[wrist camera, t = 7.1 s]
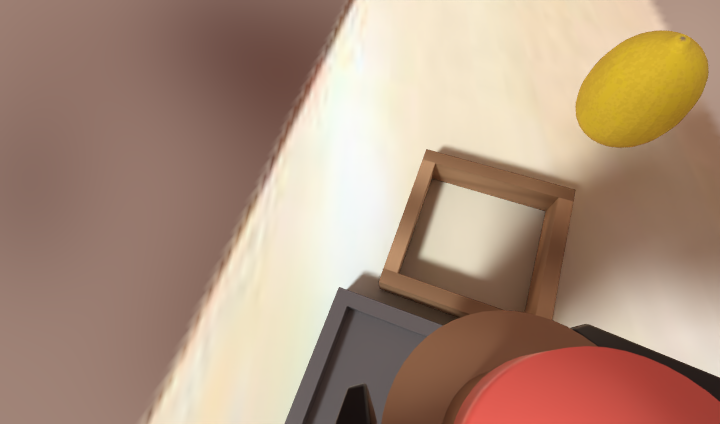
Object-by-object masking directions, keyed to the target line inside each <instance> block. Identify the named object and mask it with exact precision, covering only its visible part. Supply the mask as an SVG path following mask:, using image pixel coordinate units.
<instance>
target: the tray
mask: <svg viewBox="0 0 720 424" xmlns="http://www.w3.org/2000/svg"><path fill="white" fill-rule="evenodd" d="M442 326H443V325H441V324H438V323H435V322H432V321H430V320H427V319H424V318H422V317H419V316H416V315H413V314H411V313H408V312H405V311H403V310H400V309H397V308H395V307H392V306H389V305H386V304H384V303H381V302H378V301H376V300H373V299H370V298H368V297H365V296H362V295H359V294H357V293H354V292H351V291H349V290H346V289H343V288H341V287H339V288H338V291H337V293H336V296H335V298H334V301H333V303H332V306H331V309H330V311H329V314H328V316H327V319H326V321H325V324H324V326H323V329H322V331H321V334H320V336H319V339H318V341H317V344H316V346H315V349H314V351H313V354H312V356H311V359H310V361H309V364H308V366H307V369H306V371H305V374H304V376H303V379H302V381H301V384H300V386H299V389H298V391H297V394H296V396H295V399H294V401H293V404H292V406H291V409H290V411H289V414H288V416H287V419H286V421H285V424H335V422H336V419H337V416H338V414H339V411H340V408H341V405H342V403H343V400H344V397H345V394H346V391H347V389H348V388H349V387H350V386H353V385H357V384H361V383H365V384H366V385H367V387H368V390H369V394H370V397H371V400H372V404H373V407H374V411H375V415H376V419H377V424H381V422H382V416H383V411H384V407H385V404H386V400H387V396H388V393H389V391H390V388H391V386H392V384H393V381H394V379H395V377H396V375H397V373H398V372H399V370H400V368H401V366H402V365H403V363H404V362H405V360H406V359H407V358H408V356H409V355H410V354H411V352H412V351H413V350H414V349H415V348H416V347H417V346H418V345H419V344H420V343H421V342H422V341H423V340H424V339H425V338H426V337H427V336H429V335H430V334H431V333H433V332H434V331H435V330H437V329H438V328H440V327H442Z"/></svg>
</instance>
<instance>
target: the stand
mask: <svg viewBox="0 0 720 424" xmlns="http://www.w3.org/2000/svg"><path fill="white" fill-rule="evenodd" d="M431 179H436V180H439V181H443V182H446V183H450V184H453V185H457V186H460V187H464V188H467V189H471V190H474V191H478V192H481V193H485V194H488V195H492V196H495V197H498V198H502V199H505V200H509V201H512V202H516V203H519V204H523V205H526V206H530V207H533V208H537V209H540V210H544V211H546V212H545V217H544V222H543V226H542V231H541V236H540V241H539V246H538V250H537V255H536V260H535V265H534V270H533V274H532V279H531V284H530V289H529V294H528V298H527V303H526V308H525V313H529V314H534V315H537V316H541V317H544V318H547V319H550V320H552V317H553V312H554V306H555V300H556V295H557V289H558V284H559V278H560V273H561V267H562V262H563V256H564V251H565V245H566V240H567V234H568V228H569V223H570V217H571V212H572V206H573V201H574V195H575V189H571V188H567V187H563V186H560V185H556V184H552V183H549V182H545V181H541V180H538V179H534V178H530V177H527V176H523V175H519V174H516V173H512V172H508V171H505V170H501V169H497V168H494V167H490V166H486V165H483V164H479V163H475V162H472V161H468V160H464V159H461V158H457V157H453V156H450V155H446V154H442V153H439V152H435V151H431V150H427V149H426V152H425V155H424V158H423V160H422V163H421V166H420V169H419V171H418V174H417V177H416V180H415V182H414V185H413V188H412V191H411V194H410V196H409V199H408V202H407V205H406V207H405V210H404V213H403V216H402V219H401V221H400V224H399V227H398V230H397V232H396V235H395V238H394V241H393V243H392V246H391V249H390V252H389V255H388V257H387V260H386V263H385V266H384V268H383V271H382V274H381V277H380V280H379V287H380V289H381V290H384V291H387V292H390V293H392V294H395V295H398V296H401V297H404V298H406V299H409V300H412V301H415V302H417V303H420V304H423V305H426V306H428V307H431V308H434V309H437V310H439V311H442V312H445V313H448V314H450V315H453V316H456V317H459V318H461V317H464V316H466V315H470V314H475V313H479V312H485V311H497V310H502V309H499V308H496V307H493V306H491V305H488V304H485V303H482V302H479V301H476V300H473V299H471V298H468V297H465V296H462V295H459V294H456V293H453V292H450V291H448V290H445V289H442V288H439V287H436V286H433V285H430V284H428V283H425V282H422V281H419V280H416V279H413V278H410V277H407V276H405V275H402V274H399V273H400V270H401V267H402V264H403V261H404V258H405V255H406V252H407V249H408V246H409V244H410V241H411V238H412V235H413V232H414V229H415V226H416V223H417V220H418V217H419V214H420V212H421V209H422V206H423V203H424V200H425V197H426V194H427V191H428V188H429V185H430V182H431ZM503 311H505V310H503Z"/></svg>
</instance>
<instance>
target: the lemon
mask: <svg viewBox="0 0 720 424" xmlns="http://www.w3.org/2000/svg"><path fill="white" fill-rule="evenodd" d="M707 78H708V61H707V58H706V56H705V53H704V51H703V49H702V48H701V47H700V46H699V44H698V43H697V42H695V41H694V40H693V39H692V38H690V37H688V36H686V35H684V34H681V33H678V32H672V31H652V32H646V33H642V34H639V35H636V36H634V37H631V38H629V39H627V40H625V41H623V42H622V43H620V44H619V45H617V46H616V47H615V48H613V49H612V50H611V51H609V52H608V53H607V54H606V55H605V56H603V57H602V58H601V59H600V60H599V61H598V62H597V64H596V65H595V66H594V67H593V69H592V70H591V71H590V73H589V74H588V75H587V77H586V78H585V80H584V81H583V83H582V85H581V87H580V90H579V93H578V97H577V101H576V117H577V120H578V123H579V125H580V127H581V129H582V130H583V131H584V133H585V134H586V135H587V136H588V137H590V138H591V139H592V140H594V141H596V142H597V143H600V144H603V145H606V146H610V147H618V148H621V147H634V146H637V145H641V144H644V143H648V142H650V141H652V140H654V139H656V138H658V137H659V136H661V135H663V134H664V133H666V132H668V131H669V130H671V129H672V128H673V127H675V126H676V125H677V124H678V123H679V122H680V121H681V120H682V119H683V118H684V117H685V116H686V115H687V113H688V112H689V111H690V110H691V109H692V108H693V106H694V105H695V104H696V102H697V101H698V99H699V98H700V96H701V94H702V92H703V90H704V87H705V84H706V81H707Z"/></svg>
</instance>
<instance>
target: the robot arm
mask: <svg viewBox="0 0 720 424" xmlns="http://www.w3.org/2000/svg"><path fill="white" fill-rule="evenodd" d="M570 329H572V330H574V331H575V332H577V333H579V334H581V335H582V336H584V337H585V338H587V339H588V340H590V341H591V342H592V343H594V344H595V345H597V346H598V347H607V348H612V349H618V350H623V351H627V352H631V353H634V354H637V355H640V356H644V357H647V358H649V359H651V360H654V361H656V362H658V363H661V364H663V365H665V366H667V367H669V368H671V369H673V370H675V371H676V372H678V373H680V374H682V375H684V376H685V377H687V378H689V379H690V380H692V381H693V382H694V383H696V384H697V385H699V386H700V387H702V388H703V389H705V390H706V391H707V392H709V393H710V394H711V395H712V396H713V397H715V398H716V399H717V400H718V401H719V402H720V378H719V377H717V376H714V375H712V374H710V373H707V372H705V371H702V370H700V369H697V368H695V367H692V366H690V365H687V364H685V363H683V362H680V361H678V360H675V359H673V358H670V357H668V356H665V355H663V354H660V353H658V352H655V351H653V350H651V349H648V348H646V347H643V346H641V345H638V344H636V343H633V342H631V341H628V340H626V339H624V338H621V337H619V336H616V335H614V334H611V333H609V332H606V331H604V330H601V329H599V328H597V327H594V326H592V325H588V324H584V325H580V326H576V327H572V328H570ZM335 424H377V419H376V415H375V411H374V407H373V404H372V400H371V397H370V394H369V390H368V387H367V385H366V384H365V383H361V384H357V385H353V386H350V387H349V388H348V389H347V391H346V394H345V397H344V400H343V403H342V405H341V408H340V411H339V414H338V416H337V419H336V422H335Z"/></svg>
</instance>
